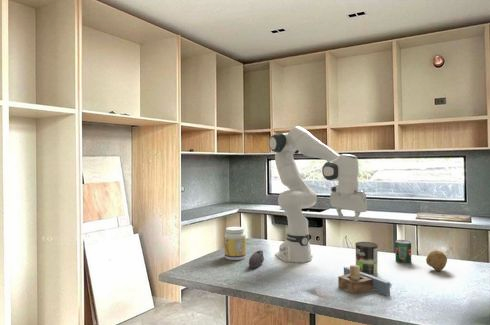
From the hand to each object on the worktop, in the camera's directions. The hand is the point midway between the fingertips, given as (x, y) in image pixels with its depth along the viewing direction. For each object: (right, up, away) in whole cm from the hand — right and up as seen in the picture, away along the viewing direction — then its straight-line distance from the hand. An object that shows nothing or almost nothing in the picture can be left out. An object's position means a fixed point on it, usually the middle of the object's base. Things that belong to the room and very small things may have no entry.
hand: (347, 219), depth 162 cm
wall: (+5, -28, -8) cm, 30 cm away
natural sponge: (+47, -28, +11) cm, 56 cm away
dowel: (0, -27, -11) cm, 29 cm away
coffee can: (+12, -28, +9) cm, 32 cm away
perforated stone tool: (-42, -29, +22) cm, 55 cm away
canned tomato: (+38, -28, +26) cm, 54 cm away
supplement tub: (-53, -29, +38) cm, 71 cm away
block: (0, -28, -11) cm, 30 cm away
